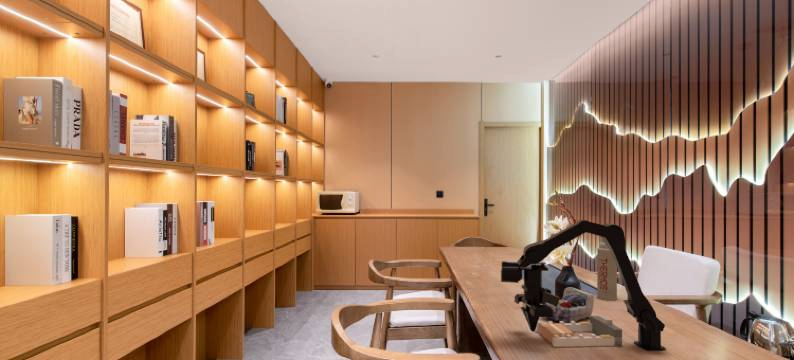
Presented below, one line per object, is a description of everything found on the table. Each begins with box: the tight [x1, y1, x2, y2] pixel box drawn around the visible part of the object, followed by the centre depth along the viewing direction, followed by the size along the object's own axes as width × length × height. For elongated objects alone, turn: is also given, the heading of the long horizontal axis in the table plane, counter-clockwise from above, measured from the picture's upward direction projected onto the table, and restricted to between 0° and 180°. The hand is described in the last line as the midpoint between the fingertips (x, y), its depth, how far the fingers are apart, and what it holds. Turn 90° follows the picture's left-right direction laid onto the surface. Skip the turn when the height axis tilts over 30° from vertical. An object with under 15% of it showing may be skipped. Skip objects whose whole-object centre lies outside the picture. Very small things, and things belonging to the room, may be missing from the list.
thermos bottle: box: [596, 237, 618, 301], centre depth 197 cm, size 8×8×28 cm
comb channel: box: [535, 315, 623, 348], centre depth 144 cm, size 15×22×6 cm
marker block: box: [539, 323, 575, 344], centre depth 144 cm, size 10×7×4 cm
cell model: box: [541, 286, 595, 323], centre depth 166 cm, size 13×11×20 cm
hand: (532, 331), depth 143 cm, fingers closed
